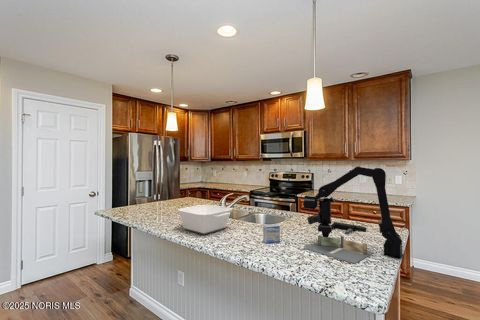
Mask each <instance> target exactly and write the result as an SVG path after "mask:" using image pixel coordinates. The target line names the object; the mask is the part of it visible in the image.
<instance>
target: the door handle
mask: <svg viewBox="0 0 480 320" xmlns="http://www.w3.org/2000/svg"><path fill="white" fill-rule="evenodd" d="M330 225H331V226H332V230H335V229H336V230H341V231H344V234H345V235H349V234H351V233H352V232H353V233H355V232H356V231H359V232H362V233H363V232H365V233H366V231H367V227H365V226H363V225H355V224H349V223H344V222H338V221H334V222H333V223H331V224H330Z"/></svg>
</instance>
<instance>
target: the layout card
mask: <svg viewBox="0 0 480 320" xmlns="http://www.w3.org/2000/svg"><path fill="white" fill-rule="evenodd" d="M303 249H304V250H306V251H311V252H314V253H316V254H320V255H324V256H327V257H330V258H334V259H337V260H340V261H342V262H345V263H346V262H347V263H350V264H352V265H356V264H358V263H360V262H361V261H363V260H365V259H367V258H369V257H370V256H372V255H373V254H374V252H373V251H368V250H367V255H364V254H362V253H359V252H355V251H351V250H348V249H344V248H341V243H340V247H333V246H324V245H318V241H317V242H315V243H313V244H310V245H307V246H305V247H303Z"/></svg>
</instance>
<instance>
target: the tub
mask: <svg viewBox="0 0 480 320" xmlns="http://www.w3.org/2000/svg"><path fill="white" fill-rule="evenodd" d="M232 210H233V208H231V207H227V206H222V205H215V204H199V205H192V206H187V207H185V206H184V207H181V208H178V209H177V211H178V213H179V216H180V219H181V223H182V226H183V228H184V229H183V230H186V231H189V232H192V233H195V234H200V235H202V236H204V235H208V234H212V233H215V232H220V231H222V230H225V228H226V227H227V224H228V221H229V218H230V215H231V212H232Z"/></svg>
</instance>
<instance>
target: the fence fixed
mask: <svg viewBox="0 0 480 320" xmlns="http://www.w3.org/2000/svg"><path fill="white" fill-rule="evenodd" d="M340 244H341V248H344V249H348V250H351V251H355V252H359V253H362V254H364V255H367V251H368V243H366V242H362V243H360V242H357V241H354V240H353V241H352V240H349V239H345V236H344V235H343V236H342V235H341V236H340Z"/></svg>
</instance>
